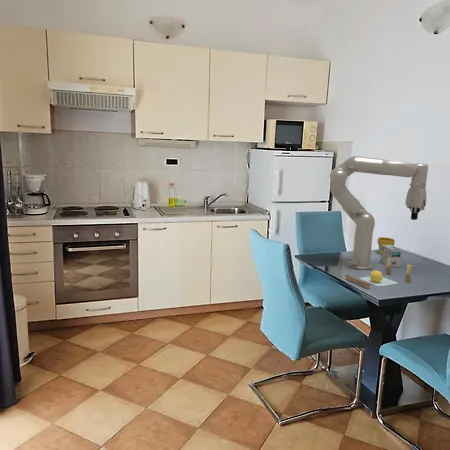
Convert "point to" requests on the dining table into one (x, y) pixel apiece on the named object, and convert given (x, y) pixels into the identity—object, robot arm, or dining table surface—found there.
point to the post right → (408, 273)
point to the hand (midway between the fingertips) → (413, 219)
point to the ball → (376, 276)
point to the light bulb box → (391, 255)
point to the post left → (388, 266)
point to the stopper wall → (358, 281)
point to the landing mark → (382, 283)
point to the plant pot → (385, 242)
